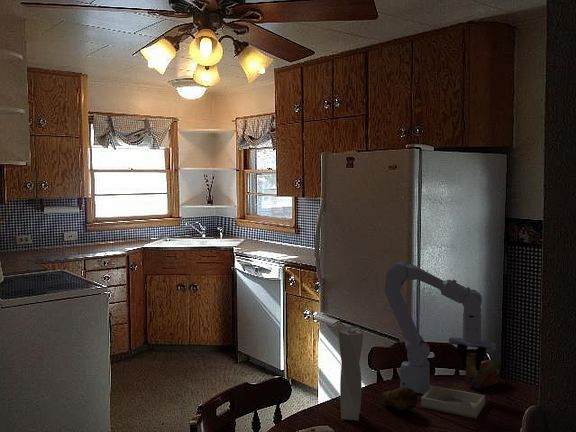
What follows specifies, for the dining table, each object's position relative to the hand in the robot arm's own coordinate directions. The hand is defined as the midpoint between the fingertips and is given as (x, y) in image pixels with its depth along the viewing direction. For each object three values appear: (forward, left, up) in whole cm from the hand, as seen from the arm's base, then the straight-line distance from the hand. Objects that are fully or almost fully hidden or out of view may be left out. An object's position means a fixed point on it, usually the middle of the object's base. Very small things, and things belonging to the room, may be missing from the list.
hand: (471, 368), depth 176 cm
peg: (0, 0, -2) cm, 2 cm away
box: (-3, -11, -9) cm, 15 cm away
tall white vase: (-27, -35, -10) cm, 46 cm away
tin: (+1, +14, -10) cm, 17 cm away
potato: (-16, -23, -10) cm, 30 cm away
